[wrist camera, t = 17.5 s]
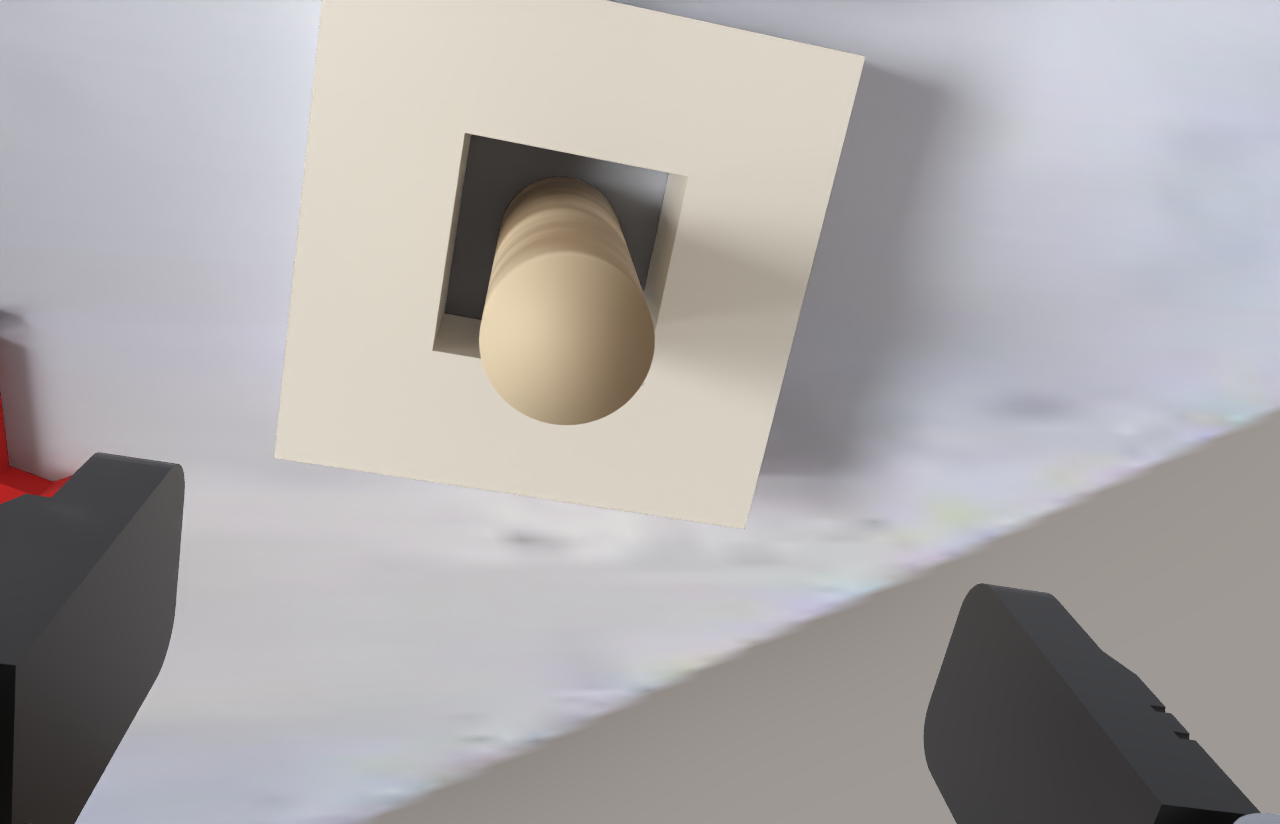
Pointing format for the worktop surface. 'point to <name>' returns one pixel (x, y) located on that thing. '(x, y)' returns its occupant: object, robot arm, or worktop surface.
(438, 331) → the socket block
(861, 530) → the worktop surface
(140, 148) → the worktop surface
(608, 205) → the dowel
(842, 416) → the worktop surface
